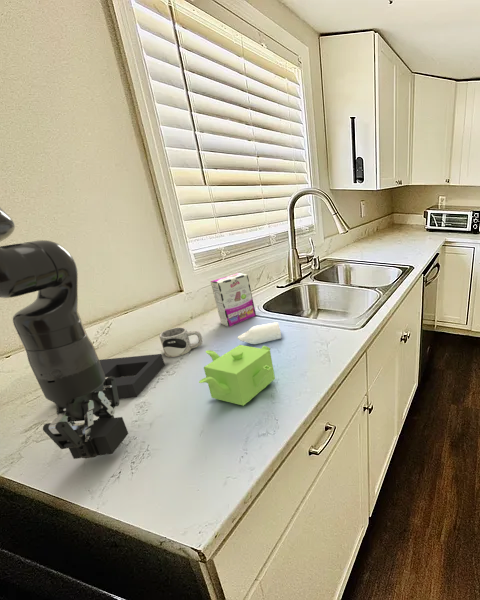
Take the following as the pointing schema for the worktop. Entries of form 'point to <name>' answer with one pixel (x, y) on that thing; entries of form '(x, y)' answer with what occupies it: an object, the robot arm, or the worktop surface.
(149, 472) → the worktop surface
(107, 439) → the small pad
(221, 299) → the candy bar box
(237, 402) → the kettle
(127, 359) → the base pad
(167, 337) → the mug
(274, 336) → the white tapered cylinder
